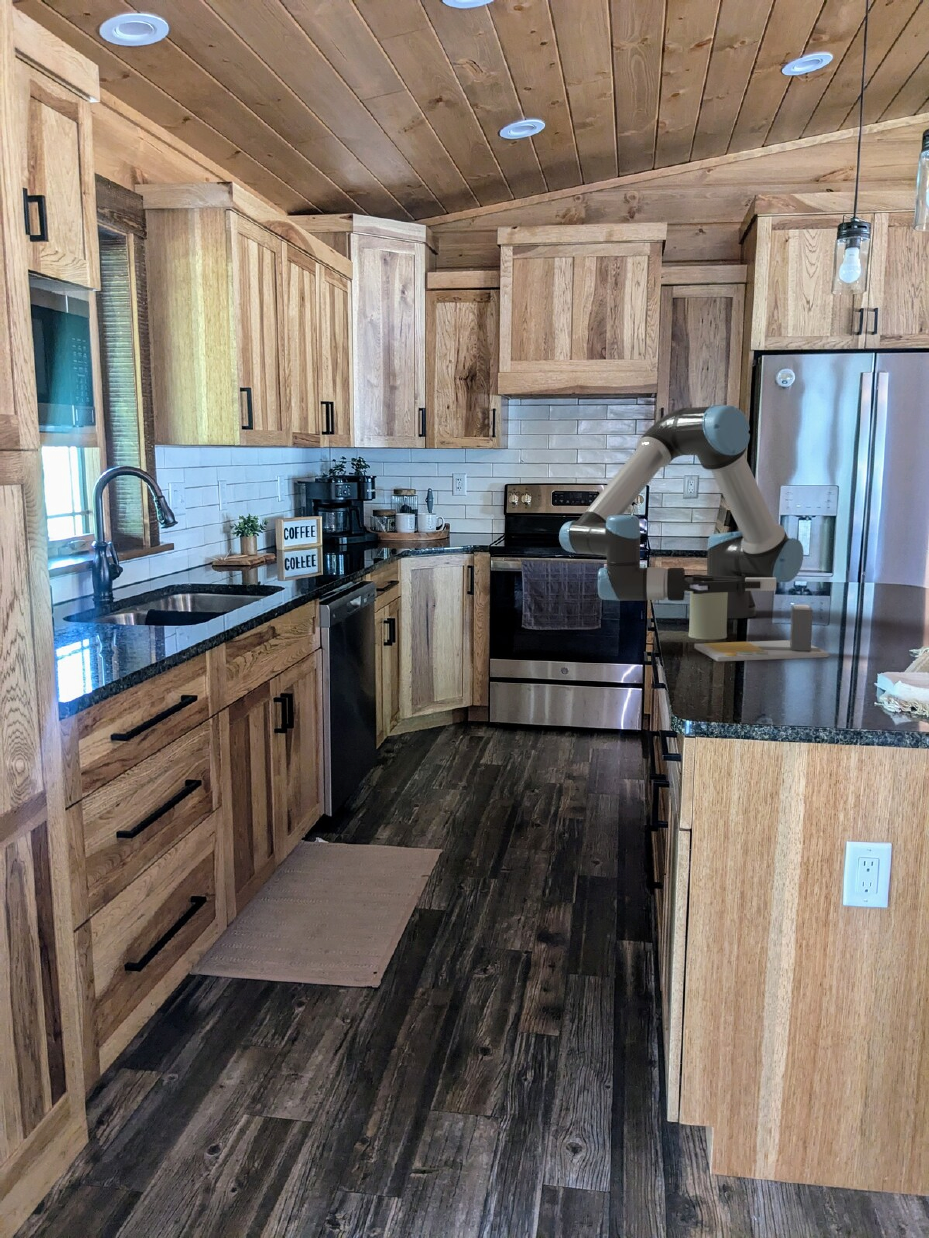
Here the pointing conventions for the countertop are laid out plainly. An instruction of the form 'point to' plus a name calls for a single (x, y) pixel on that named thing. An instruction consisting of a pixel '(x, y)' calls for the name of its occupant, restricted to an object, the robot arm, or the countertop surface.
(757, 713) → the countertop surface
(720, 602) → the can
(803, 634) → the grey upright block
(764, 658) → the panel
